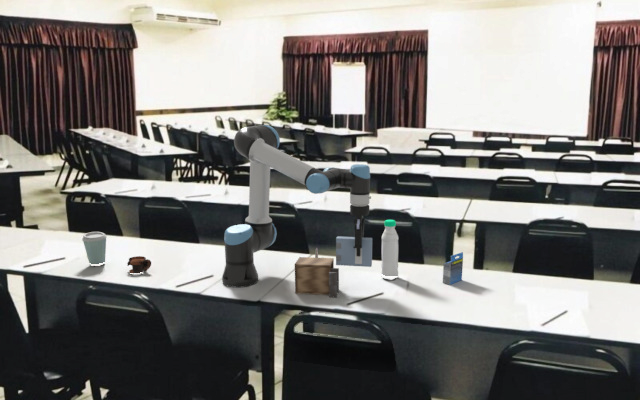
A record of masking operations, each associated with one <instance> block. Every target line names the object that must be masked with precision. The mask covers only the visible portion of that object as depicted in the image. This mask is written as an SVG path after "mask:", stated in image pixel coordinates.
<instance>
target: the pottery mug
mask: <svg viewBox="0 0 640 400" xmlns="http://www.w3.org/2000/svg"><path fill="white" fill-rule="evenodd" d="M127 266H128V267H129V266H131V268H132V269H129V271H128V273H129V274H130V273H140V272H143V273H144V272H148V270H149V269H150V268H151V266H152V261H151V260H150V259H146V257H145V256H140V255H139V256H131V257H129V258H128V261H127Z"/></svg>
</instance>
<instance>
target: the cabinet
mask: <svg viewBox="0 0 640 400" xmlns="http://www.w3.org/2000/svg"><path fill="white" fill-rule="evenodd" d="M334 261H335V260H334V258H333V257H318V258H315V257H309V256H308V257H305V256H304V257H300V256H299V257H298V259H297V260H296V262H295V263H294V289H295V291H294V292H295V294H299V295H300V294H301V295H302V294H305V295H325V296H327V295H328V298H335V299H337V298H338V294H339V293H340V284H339V282H340V277H339V275H340V274H339V273H340V271H339V270H340V268H339V267H334V266H335V263H334Z"/></svg>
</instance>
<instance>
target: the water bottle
mask: <svg viewBox="0 0 640 400" xmlns="http://www.w3.org/2000/svg"><path fill="white" fill-rule="evenodd" d="M396 223H397V221H396V220H395V219H386V220H384V221H383V224H384V231H383V233H382V235H381V272H380V273H381V274H383V275H385V276H398V277H399V234H398V233H397V230H396V229H395V228H396V226H397V224H396ZM381 274H380V275H381Z"/></svg>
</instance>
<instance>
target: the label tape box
mask: <svg viewBox="0 0 640 400" xmlns="http://www.w3.org/2000/svg"><path fill="white" fill-rule="evenodd" d="M463 263H464V252H463V251H461V252H459V253H455V254H453V255H450V261H447V262H445V263H443V269H442V284H444V285H450V286H451V285H453V284H455V283H458V282H460V281H462V279H463Z"/></svg>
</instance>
